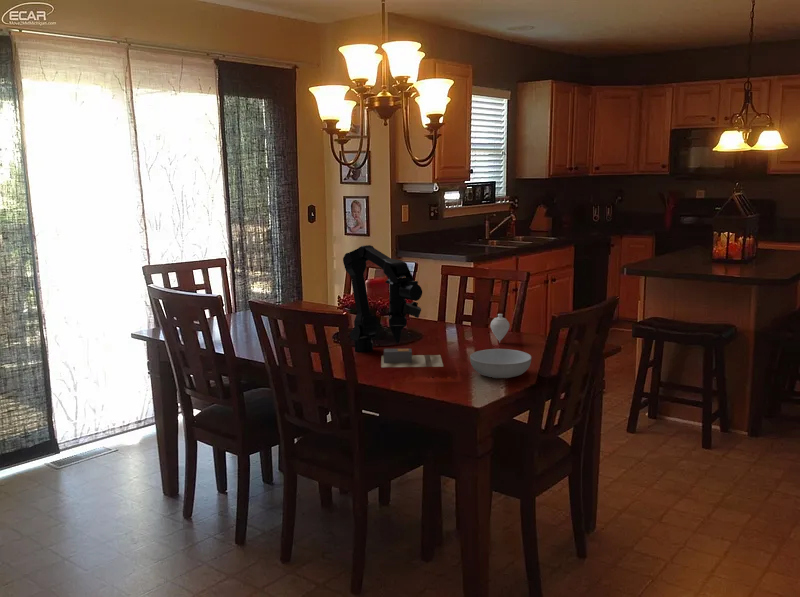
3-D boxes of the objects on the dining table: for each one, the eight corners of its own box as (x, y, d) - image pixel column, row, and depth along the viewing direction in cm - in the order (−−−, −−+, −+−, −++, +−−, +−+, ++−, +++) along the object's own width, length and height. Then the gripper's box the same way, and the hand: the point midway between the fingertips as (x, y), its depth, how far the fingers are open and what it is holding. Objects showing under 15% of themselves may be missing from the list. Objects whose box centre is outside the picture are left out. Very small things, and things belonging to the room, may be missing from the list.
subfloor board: (381, 371, 254) (381, 367, 254) (381, 359, 270) (381, 355, 270) (443, 370, 255) (443, 366, 254) (440, 358, 271) (440, 354, 270)
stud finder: (383, 363, 260) (383, 351, 259) (383, 359, 264) (383, 348, 264) (411, 362, 260) (411, 351, 259) (411, 359, 265) (411, 348, 264)
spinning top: (488, 344, 292) (489, 315, 290) (491, 340, 299) (492, 311, 297) (507, 345, 290) (508, 316, 288) (510, 341, 297) (511, 312, 295)
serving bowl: (493, 363, 264) (493, 345, 263) (542, 374, 249) (543, 355, 248) (457, 375, 249) (457, 356, 248) (507, 388, 235) (507, 367, 233)
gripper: (421, 301, 249) (421, 345, 252) (418, 292, 267) (418, 333, 270) (388, 301, 249) (389, 346, 252) (388, 292, 267) (388, 333, 270)
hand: (397, 339), depth 261 cm, fingers open, 9 cm apart
